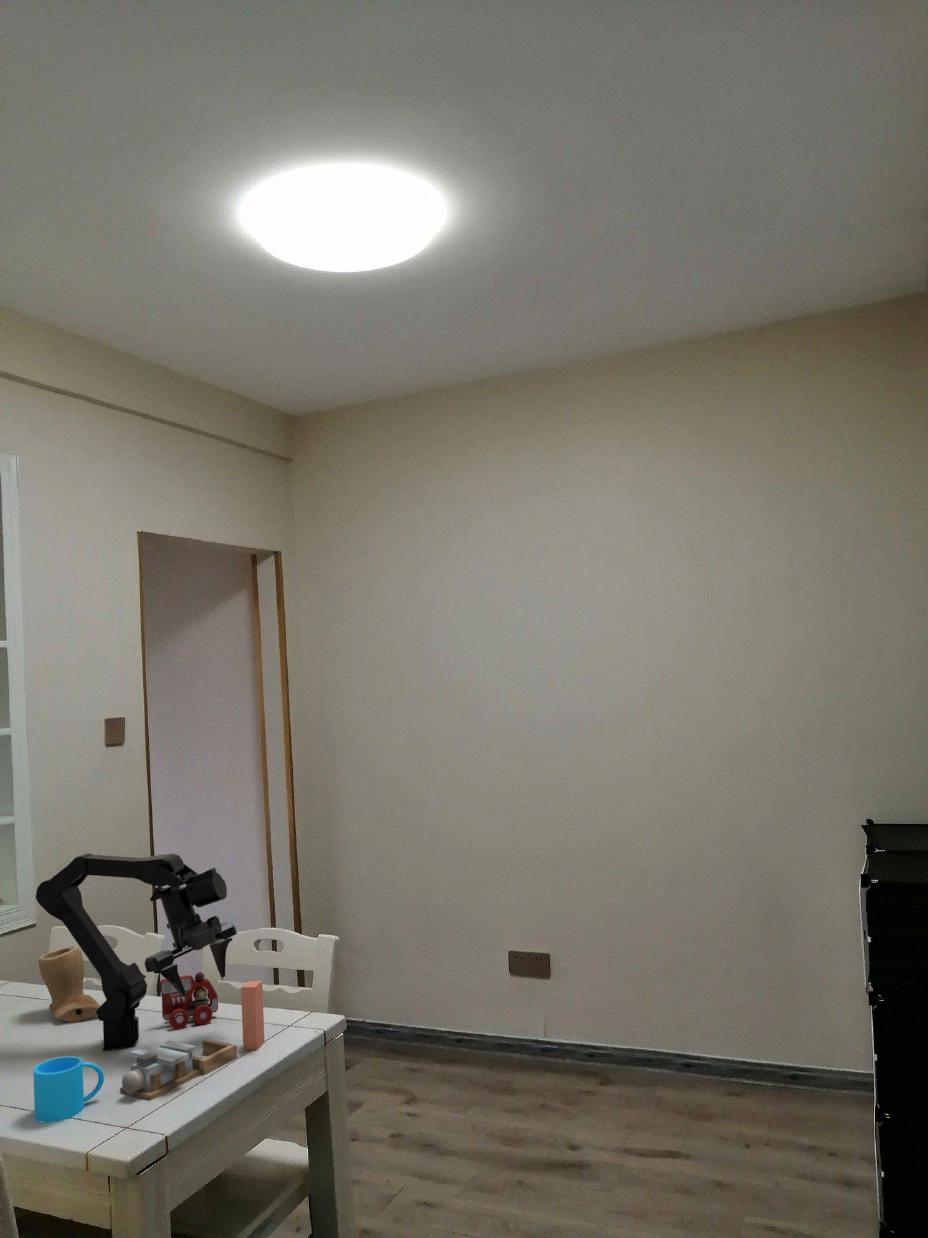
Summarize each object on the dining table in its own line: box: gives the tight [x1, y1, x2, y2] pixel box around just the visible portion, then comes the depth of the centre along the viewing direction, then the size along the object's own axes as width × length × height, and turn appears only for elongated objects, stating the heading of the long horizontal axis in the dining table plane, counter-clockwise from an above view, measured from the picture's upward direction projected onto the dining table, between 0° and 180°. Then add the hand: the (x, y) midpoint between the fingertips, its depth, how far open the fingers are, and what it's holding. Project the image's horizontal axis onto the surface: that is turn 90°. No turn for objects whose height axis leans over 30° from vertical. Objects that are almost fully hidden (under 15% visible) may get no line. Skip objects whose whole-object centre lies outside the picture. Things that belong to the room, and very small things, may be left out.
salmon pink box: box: [240, 980, 266, 1051], centre depth 204 cm, size 3×4×12 cm
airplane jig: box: [119, 1038, 238, 1101], centre depth 191 cm, size 23×11×6 cm, turn 149°
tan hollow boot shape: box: [38, 945, 101, 1023], centre depth 229 cm, size 15×12×15 cm
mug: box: [32, 1055, 105, 1123], centre depth 178 cm, size 12×8×8 cm
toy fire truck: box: [158, 971, 219, 1030], centre depth 220 cm, size 7×12×10 cm, turn 113°
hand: (204, 986), depth 207 cm, fingers open, 9 cm apart
